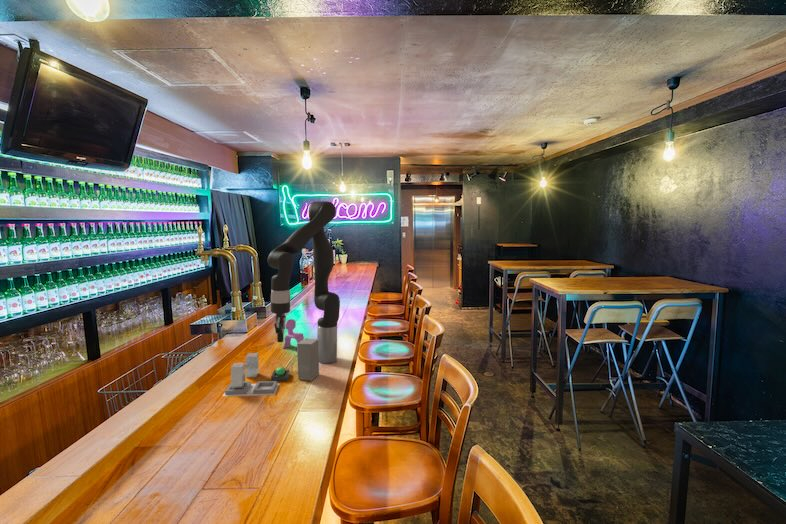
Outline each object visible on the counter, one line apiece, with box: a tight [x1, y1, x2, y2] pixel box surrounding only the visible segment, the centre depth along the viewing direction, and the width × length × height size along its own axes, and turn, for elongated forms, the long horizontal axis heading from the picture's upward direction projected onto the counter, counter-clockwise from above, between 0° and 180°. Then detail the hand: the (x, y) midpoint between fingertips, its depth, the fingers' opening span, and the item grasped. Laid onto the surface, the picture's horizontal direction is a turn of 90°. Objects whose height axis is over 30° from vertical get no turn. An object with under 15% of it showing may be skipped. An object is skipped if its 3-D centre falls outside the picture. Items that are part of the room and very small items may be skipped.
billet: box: [245, 352, 260, 379], centre depth 153 cm, size 4×4×10 cm
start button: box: [275, 366, 286, 376], centre depth 152 cm, size 4×4×3 cm
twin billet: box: [230, 362, 246, 389], centre depth 140 cm, size 4×4×10 cm
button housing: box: [270, 369, 291, 382], centre depth 152 cm, size 6×6×3 cm
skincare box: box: [296, 337, 320, 382], centre depth 156 cm, size 8×7×16 cm
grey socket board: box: [221, 380, 280, 397], centre depth 141 cm, size 19×10×2 cm, turn 97°
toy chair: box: [282, 318, 305, 352], centre depth 189 cm, size 8×9×15 cm
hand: (280, 341), depth 150 cm, fingers closed
